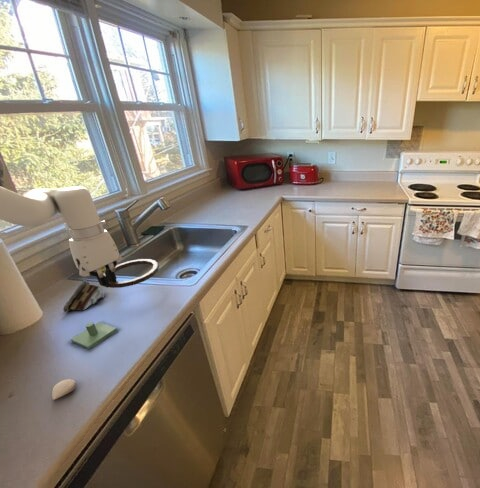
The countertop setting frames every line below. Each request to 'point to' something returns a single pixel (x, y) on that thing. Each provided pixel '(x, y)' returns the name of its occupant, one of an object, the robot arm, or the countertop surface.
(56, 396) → the cream half-moon wedge
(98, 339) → the peg stand
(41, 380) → the countertop surface
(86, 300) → the chocolate cake
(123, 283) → the hoop
